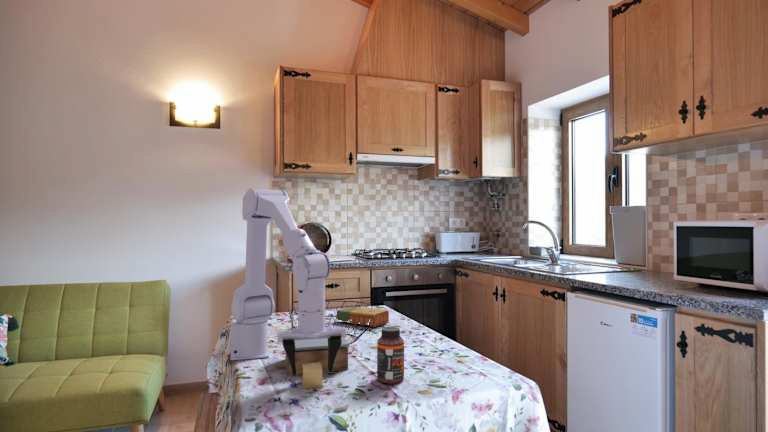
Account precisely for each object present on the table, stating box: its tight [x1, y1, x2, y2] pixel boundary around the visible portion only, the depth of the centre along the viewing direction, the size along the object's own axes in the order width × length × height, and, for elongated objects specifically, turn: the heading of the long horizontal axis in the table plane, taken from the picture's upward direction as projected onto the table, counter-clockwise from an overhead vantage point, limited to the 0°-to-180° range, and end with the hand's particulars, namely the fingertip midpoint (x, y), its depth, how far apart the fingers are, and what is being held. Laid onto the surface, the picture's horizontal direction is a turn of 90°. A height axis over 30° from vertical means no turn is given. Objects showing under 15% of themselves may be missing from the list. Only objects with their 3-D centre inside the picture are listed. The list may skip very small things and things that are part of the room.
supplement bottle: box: [376, 326, 405, 385], centre depth 100 cm, size 6×6×11 cm
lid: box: [294, 338, 350, 351], centre depth 110 cm, size 14×12×1 cm
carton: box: [336, 306, 390, 328], centre depth 152 cm, size 8×16×4 cm, turn 56°
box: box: [284, 347, 349, 376], centre depth 111 cm, size 14×12×5 cm
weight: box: [301, 362, 323, 390], centre depth 97 cm, size 4×4×4 cm
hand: (312, 372), depth 97 cm, fingers open, 7 cm apart
